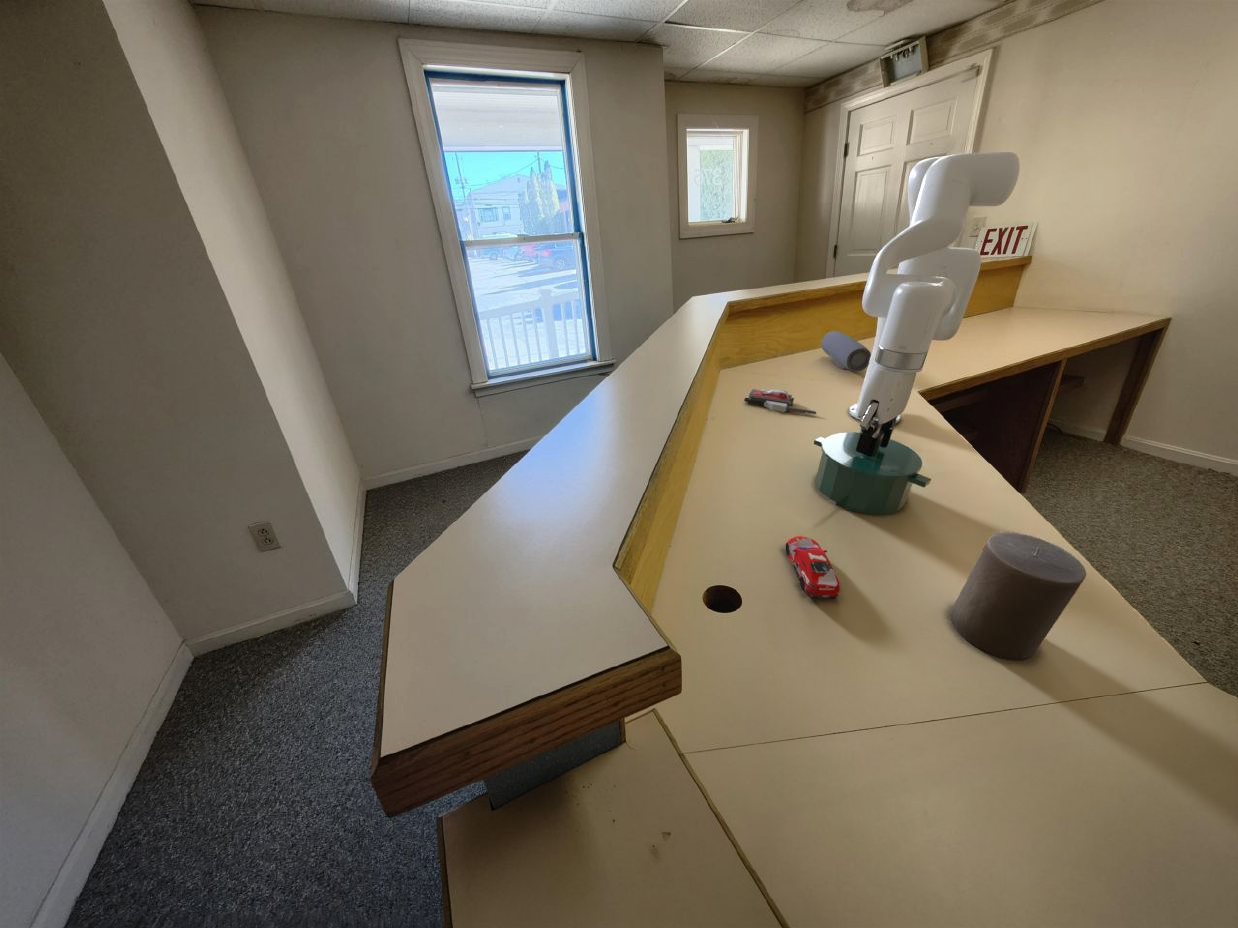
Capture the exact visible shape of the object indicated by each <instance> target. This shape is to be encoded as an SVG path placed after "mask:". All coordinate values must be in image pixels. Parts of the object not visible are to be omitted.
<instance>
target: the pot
mask: <svg viewBox="0 0 1238 928" xmlns="http://www.w3.org/2000/svg"><path fill="white" fill-rule="evenodd" d="M825 438H826V437H823V436H819V437H818V438H815V439H814V440H813V445H814V446H818V447H820V448H821V446H822V442H823V440H824V439H825ZM931 481H932V478H930V477H928V476H925V475H923V474H920V473H916V474H915V475H912V476H910V477H905V478H895V479H892V478H878V477H872V476H867V475H863V474H859V473H856V472H853V471H850V470H847V469H845V468H843V467H841V466H839V465H837V464H835V463H834V462H832V461H831V460H829V459H828V458H827V457H826V456H825V455H824V453H823V452H822V454H821V458H820V461H819V465H818V470H817V472H816V477H815V481H814V484H815V485H816V486H817V489H818V491H819V492H820V493H822V495H824V496H825V497H827V498H828V500H831V501H833V502H835V506H838V507H840V508H843V509H844V510H848V511H852V512H854V513H860V514H865V515H875V516H877V515H878V516H882V515H883V516H884V515H890V514H893V513H896V512H898V511H900V510H901V509H902V508H903V507H904V505H905V504H906V502H907V499H908V497H909V494H910V491H911V489H912V486H913V484H914V485H916V486H919V487H921V488H926V487H927V486H929V485H930V484H931Z"/></svg>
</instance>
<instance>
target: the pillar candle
mask: <svg viewBox="0 0 1238 928" xmlns="http://www.w3.org/2000/svg"><path fill="white" fill-rule="evenodd" d="M1086 577H1087V571H1086V568H1085V566H1084V565H1083V564H1082V562H1081V561H1080V560H1079V559H1078V558H1076V557H1075V556H1074V555H1073V554H1072V553H1071V552H1070V551H1068V550H1065V549H1064V548H1063V547H1061V546H1059V545H1057V544H1054V543H1052V542H1049V541H1046V540H1044V539H1042V538H1040V537H1036V536H1033V535H1030V534H1025V533H1019V532H1013V531H1012V532H1011V531H1010V532H1009V531H996V532H994V533H993V534H992V535H991V536H989V538H988V539H987V541H986V543H985V544H984V547H983V549H982V551H981V553H980V555H979V557H978V559H977V560H976V563H975V565H973V568H972V570H971V572H970V573H969V576H968V577H967V580H966V581H965V583H964V585H963V586H962V588H961V590H960V592H959V594H958V596H957V598H956V600H955V602H954V605H953V607H952V608H951V609H952V610H951V613H950V619H951V622H952V624H953V627H954V628H955V629H956V631H957V632H958V633H959V635H960V636H961V637H962V638H963V639H965V640H966V641H967V642H969V643H970V644H971V645H972V646H974V647H975V648H977V649H979V650H981V651H983V652H985V653H986V654H990V655H992V656H995V657H997V658H1000V659H1003V660H1011V661H1023V660H1027V659H1030V658H1031V657H1033V655H1035V653H1037V651H1038V649H1039V648H1040V646H1041V644H1042V643H1043V641H1044V640H1045V638H1046V637H1047V636H1048V634H1049V633H1050V631H1051V629H1052V628H1053V627H1054V625H1055V624H1056V623H1057V621H1058V619H1059V618H1060V617H1061V615H1062V613H1063V612H1064V610H1065V609H1066V608H1067V605H1069V603H1070V601H1071V600H1072V599H1073V597H1074V595H1075V594H1076V592H1077V591H1078V590H1079V588H1080V586H1081V585H1082V584H1083V582H1084V581H1085V579H1086Z"/></svg>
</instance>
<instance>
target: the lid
mask: <svg viewBox="0 0 1238 928" xmlns="http://www.w3.org/2000/svg"><path fill="white" fill-rule="evenodd" d="M874 430H875V429H874ZM883 436H884V432H883V431H882V430H880V431H879V434H878V436H877V437H878V438H879V440H878V443H877V446H876V449H875V452H874V455H873V456H872V457H869V456H867V455H864V454H861V453H859V452H857V451H856V447H857V444H858V440H859V437H860V432H855V431H854V432H838V433H834V434H831V435H828V436H827V437H824V438H825V439H824V440H823V442H822V446H821V447H820V448H821V451H822V453H824V455H825V456H826V457H827V458H828V459H829V460H831V461H832V462H834V463H835V464H837V465H839V466H841V467H843V468H845V469H847V470H850V471H853V472H856V473H859V474H863V475H867V476H872V477H878V478H892V479H895V478H905V477H910V476H912V475H915V474H916V473H917V474H919V472H920V471H921V469H922V467H923V460H922V458H921V457H920V455H919V454H918V453H917V452H916V451H915V450H913V449H912V448H910V447H909V446H907V445H905V444H903V443H901V442H899V441H897V440H894V439H891V438H890V440H889V443H888V446H887V447H886V448H883V447H880V445H881V442H882V439H883Z"/></svg>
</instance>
